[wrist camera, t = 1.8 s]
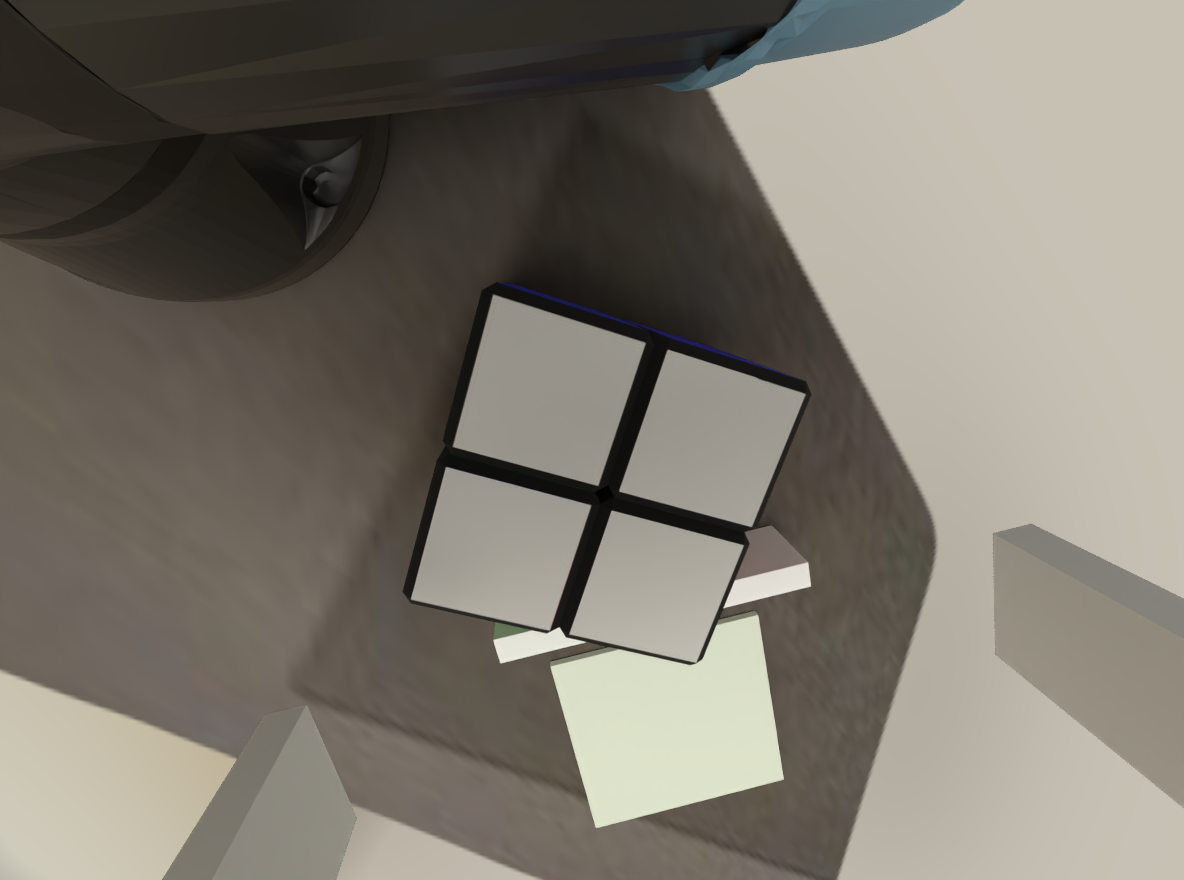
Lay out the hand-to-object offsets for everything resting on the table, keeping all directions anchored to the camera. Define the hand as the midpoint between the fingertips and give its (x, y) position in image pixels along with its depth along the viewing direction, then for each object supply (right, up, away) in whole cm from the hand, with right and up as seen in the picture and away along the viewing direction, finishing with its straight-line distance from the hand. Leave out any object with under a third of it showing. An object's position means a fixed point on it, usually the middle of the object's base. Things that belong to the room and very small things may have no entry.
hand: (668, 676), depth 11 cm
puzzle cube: (-2, +5, +16) cm, 17 cm away
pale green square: (+3, -11, +20) cm, 23 cm away
